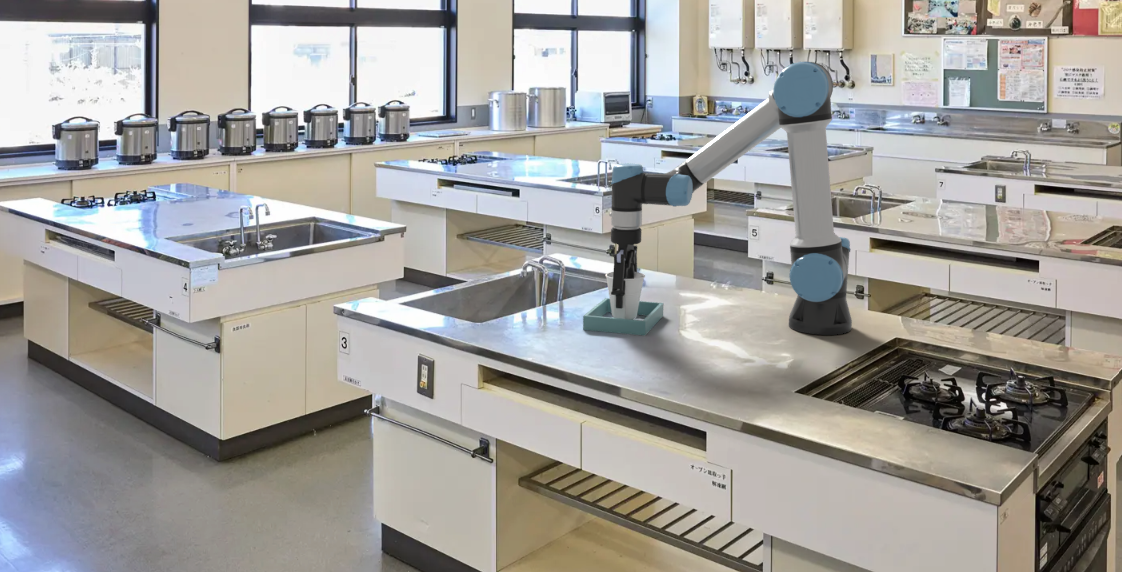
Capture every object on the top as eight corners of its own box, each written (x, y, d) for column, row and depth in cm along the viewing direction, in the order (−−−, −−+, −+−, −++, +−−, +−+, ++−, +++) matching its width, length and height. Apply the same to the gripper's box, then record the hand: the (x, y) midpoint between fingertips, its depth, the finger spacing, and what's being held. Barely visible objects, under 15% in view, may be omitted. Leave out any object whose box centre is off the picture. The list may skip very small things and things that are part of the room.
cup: (641, 323, 244) (642, 280, 242) (601, 321, 246) (602, 278, 243) (646, 314, 253) (647, 271, 251) (607, 312, 255) (608, 270, 253)
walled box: (663, 316, 257) (663, 302, 256) (645, 335, 239) (645, 321, 238) (605, 311, 261) (605, 298, 261) (583, 329, 243) (583, 315, 243)
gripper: (622, 219, 256) (621, 305, 261) (599, 233, 236) (598, 325, 241) (651, 221, 253) (649, 307, 258) (630, 234, 234) (628, 327, 239)
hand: (624, 315), depth 250 cm, fingers closed on cup, 8 cm apart
